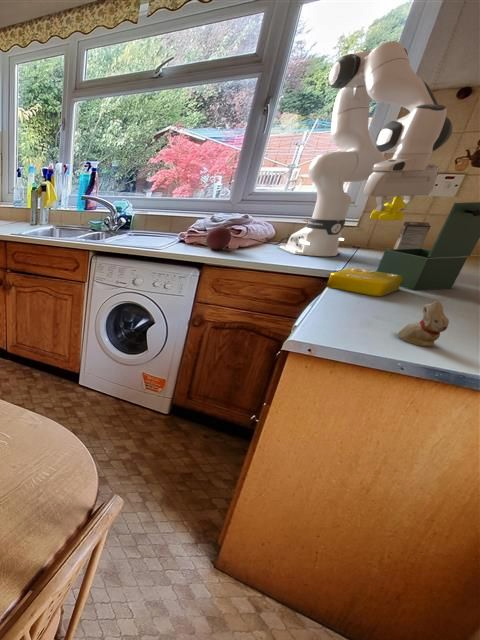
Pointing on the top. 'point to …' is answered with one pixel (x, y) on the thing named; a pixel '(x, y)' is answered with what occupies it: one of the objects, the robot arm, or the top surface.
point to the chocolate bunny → (426, 326)
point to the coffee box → (412, 235)
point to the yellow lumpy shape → (390, 211)
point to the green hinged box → (421, 268)
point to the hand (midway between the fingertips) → (389, 210)
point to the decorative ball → (218, 238)
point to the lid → (458, 231)
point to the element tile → (365, 281)
